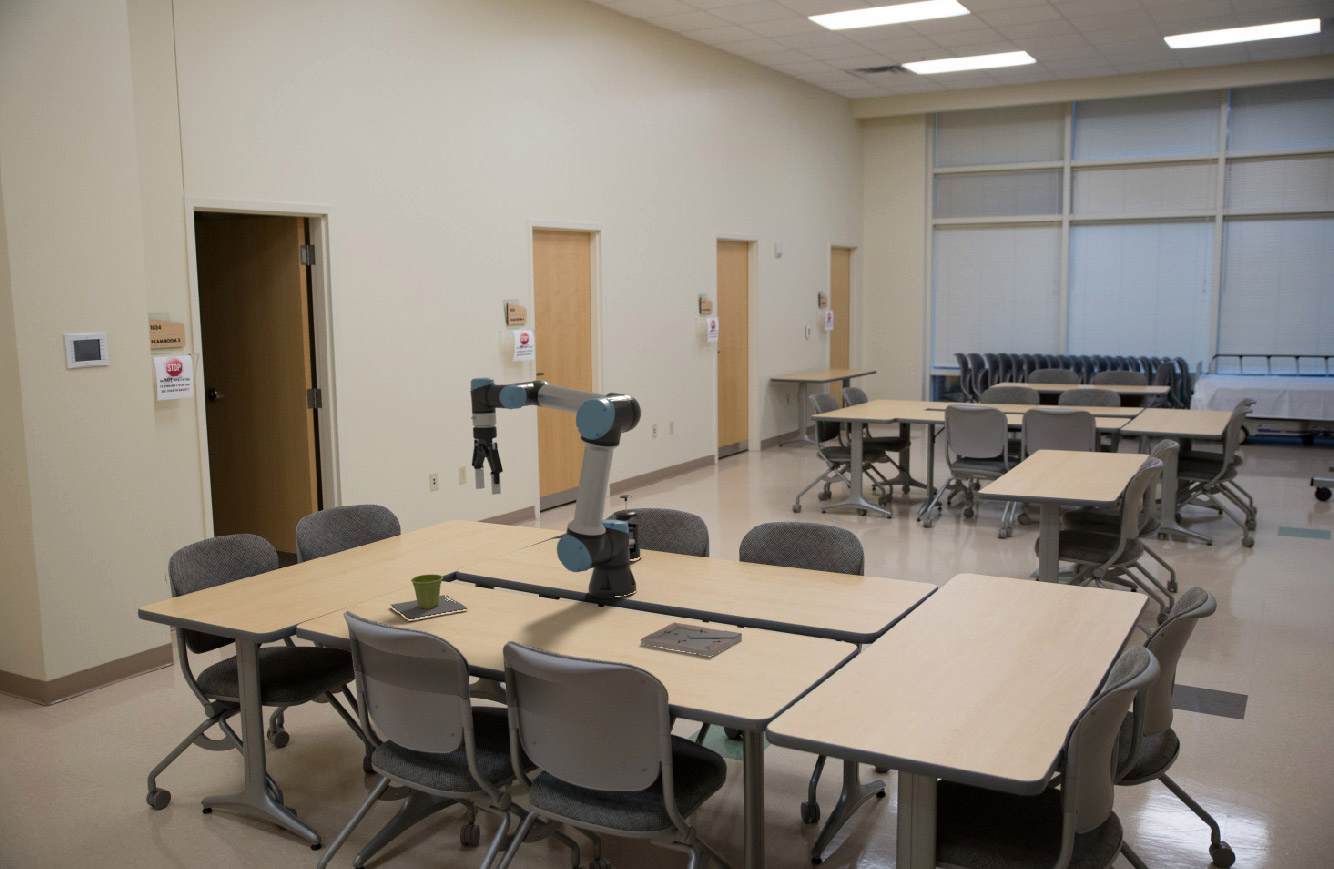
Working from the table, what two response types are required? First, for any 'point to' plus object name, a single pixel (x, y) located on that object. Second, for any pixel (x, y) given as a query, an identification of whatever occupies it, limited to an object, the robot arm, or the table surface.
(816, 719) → the table surface
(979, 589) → the table surface
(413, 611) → the charcoal mat
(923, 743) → the table surface
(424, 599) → the plant pot
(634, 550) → the french press
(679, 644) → the picture frame
